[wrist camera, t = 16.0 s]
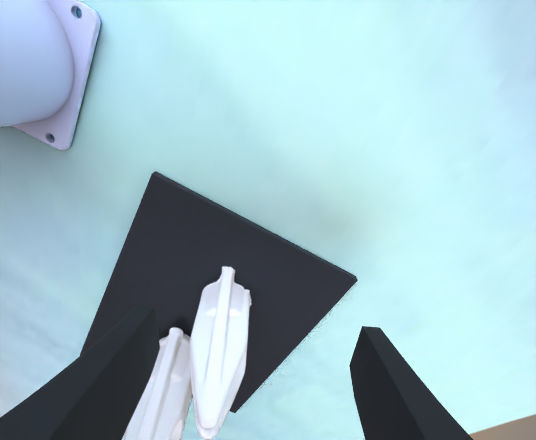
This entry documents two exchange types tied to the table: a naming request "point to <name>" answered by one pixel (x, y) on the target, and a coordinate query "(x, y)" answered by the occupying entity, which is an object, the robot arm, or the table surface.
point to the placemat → (217, 276)
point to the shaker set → (197, 367)
